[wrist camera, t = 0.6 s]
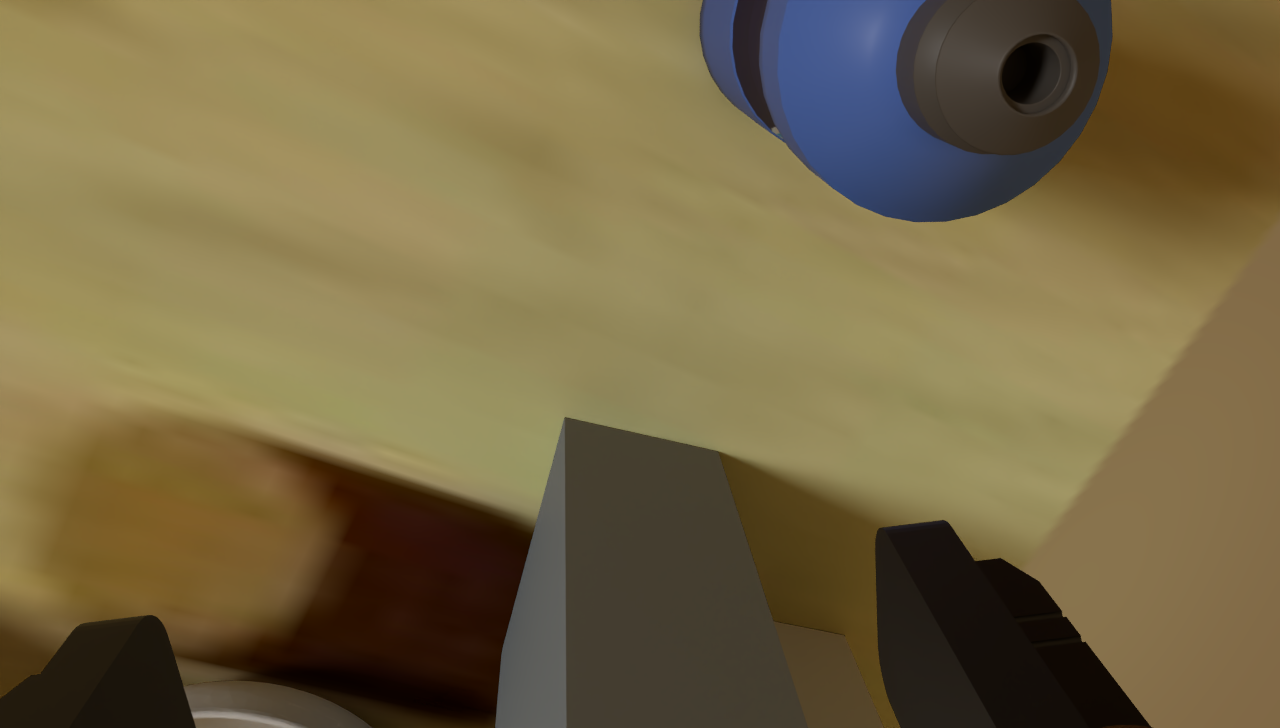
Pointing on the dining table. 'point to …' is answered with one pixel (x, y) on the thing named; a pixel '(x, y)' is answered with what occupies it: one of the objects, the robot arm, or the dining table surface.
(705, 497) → the stand
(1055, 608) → the robot arm
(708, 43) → the water bottle
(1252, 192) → the dining table surface
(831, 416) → the dining table surface
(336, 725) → the serving bowl
